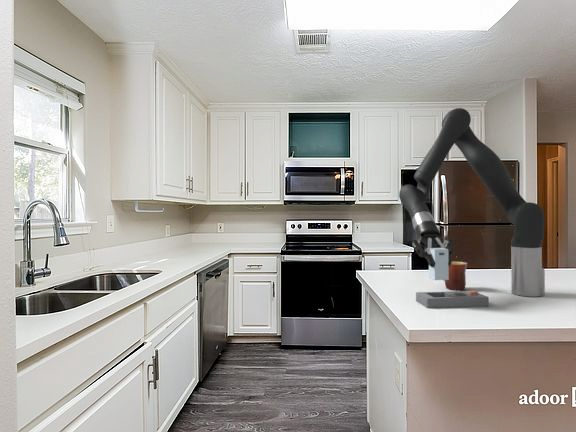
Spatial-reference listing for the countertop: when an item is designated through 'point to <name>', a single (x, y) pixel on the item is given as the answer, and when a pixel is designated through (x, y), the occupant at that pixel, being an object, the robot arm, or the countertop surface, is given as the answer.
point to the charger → (439, 264)
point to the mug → (456, 276)
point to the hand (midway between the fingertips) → (441, 265)
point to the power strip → (452, 299)
